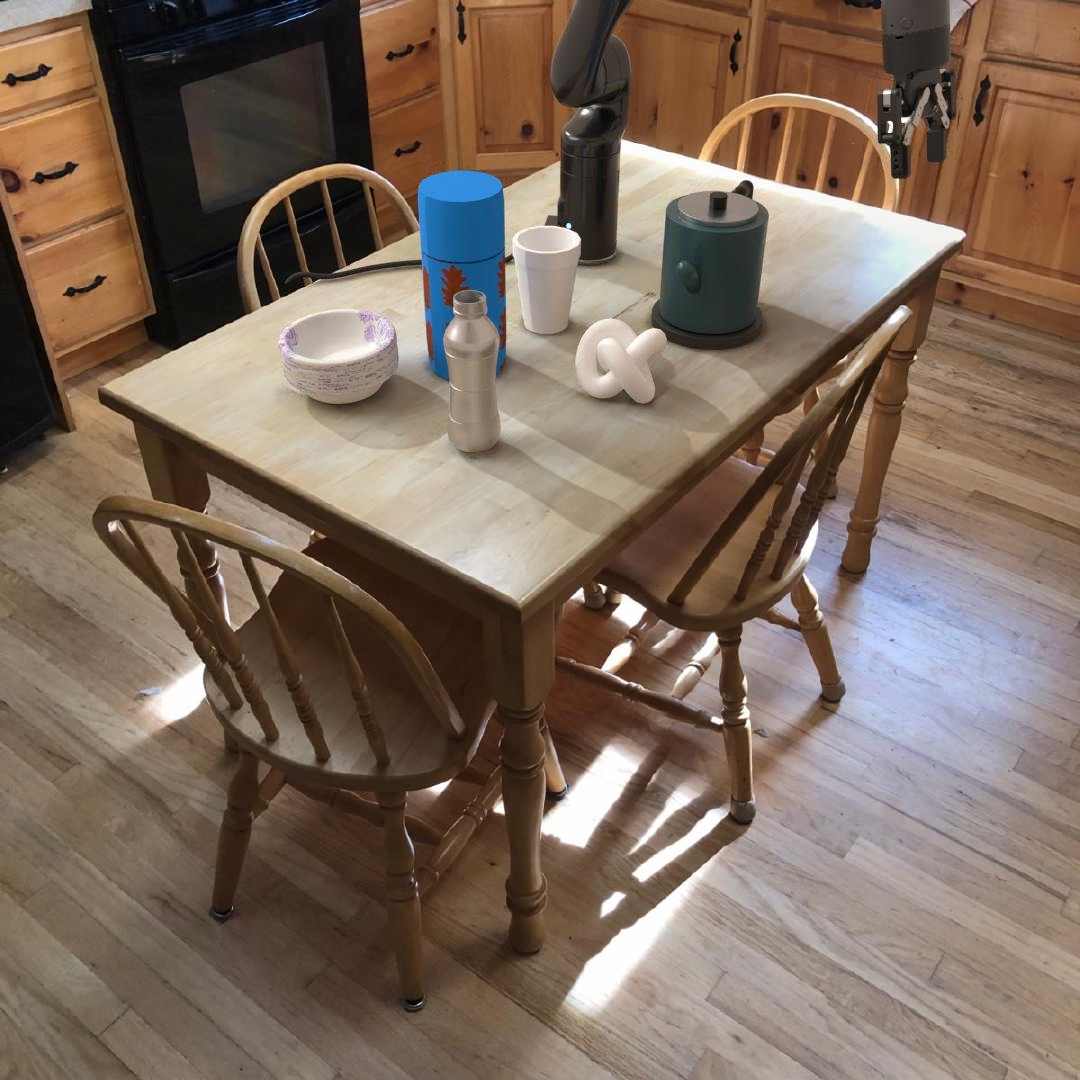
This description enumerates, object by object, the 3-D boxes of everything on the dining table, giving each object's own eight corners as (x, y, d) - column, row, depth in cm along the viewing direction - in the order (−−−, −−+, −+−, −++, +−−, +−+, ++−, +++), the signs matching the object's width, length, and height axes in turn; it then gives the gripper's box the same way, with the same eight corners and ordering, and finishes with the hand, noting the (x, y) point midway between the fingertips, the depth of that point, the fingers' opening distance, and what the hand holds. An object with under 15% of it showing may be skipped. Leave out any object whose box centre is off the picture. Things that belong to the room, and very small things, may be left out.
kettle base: (646, 345, 167) (647, 334, 166) (655, 294, 179) (656, 285, 178) (761, 353, 165) (762, 343, 164) (762, 302, 177) (763, 292, 176)
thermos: (496, 386, 158) (492, 205, 142) (418, 378, 159) (406, 198, 144) (513, 348, 166) (512, 173, 151) (440, 340, 168) (430, 167, 152)
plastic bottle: (446, 431, 149) (438, 285, 136) (500, 429, 149) (497, 283, 137) (447, 460, 144) (439, 311, 131) (503, 458, 144) (500, 308, 132)
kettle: (723, 356, 160) (736, 235, 150) (629, 332, 166) (636, 213, 155) (782, 289, 177) (797, 175, 166) (695, 269, 182) (705, 157, 171)
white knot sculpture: (678, 412, 153) (683, 350, 147) (587, 420, 151) (589, 358, 145) (656, 369, 161) (660, 309, 156) (570, 377, 160) (571, 316, 154)
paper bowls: (265, 380, 159) (257, 327, 154) (364, 348, 166) (359, 296, 161) (319, 430, 149) (312, 375, 144) (422, 393, 156) (418, 339, 151)
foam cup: (588, 317, 173) (591, 232, 166) (562, 344, 167) (564, 258, 159) (530, 304, 177) (529, 221, 169) (502, 330, 170) (501, 245, 162)
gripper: (917, 19, 142) (920, 157, 149) (853, 38, 134) (860, 183, 141) (976, 12, 137) (976, 156, 144) (914, 32, 129) (917, 183, 136)
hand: (919, 169), depth 143 cm, fingers open, 8 cm apart
